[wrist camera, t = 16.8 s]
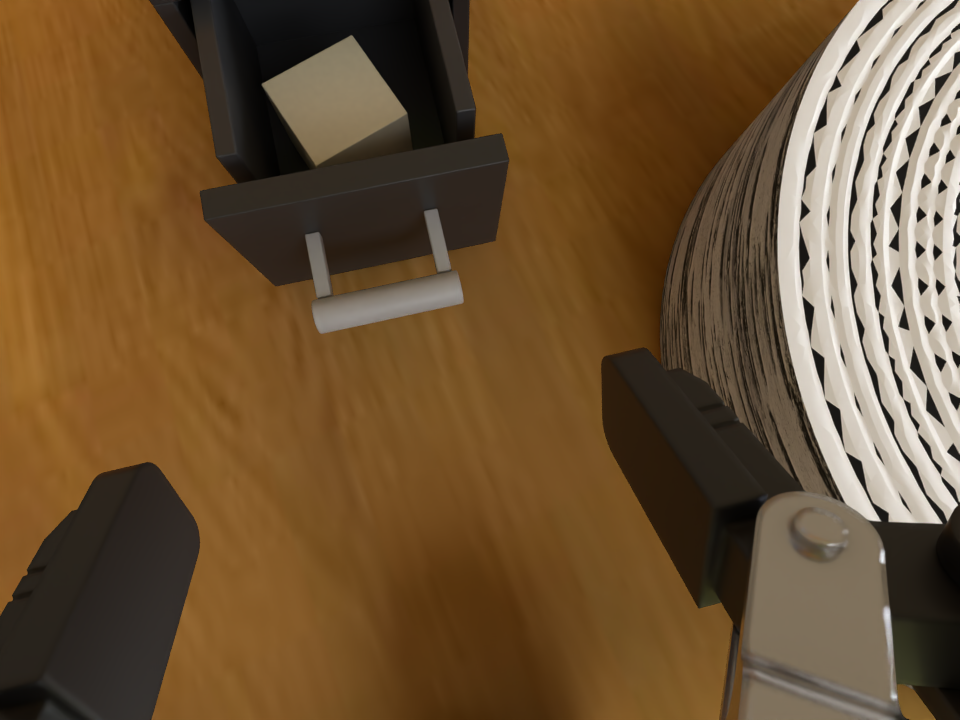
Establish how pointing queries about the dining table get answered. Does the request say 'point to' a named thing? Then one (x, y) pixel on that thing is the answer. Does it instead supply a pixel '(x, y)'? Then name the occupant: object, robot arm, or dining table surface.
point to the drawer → (354, 185)
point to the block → (339, 108)
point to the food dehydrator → (839, 268)
